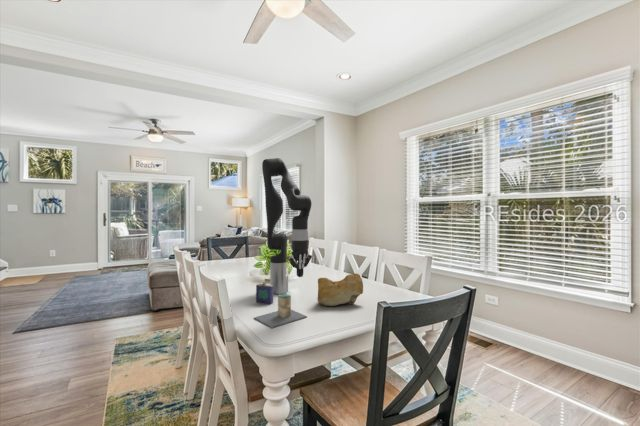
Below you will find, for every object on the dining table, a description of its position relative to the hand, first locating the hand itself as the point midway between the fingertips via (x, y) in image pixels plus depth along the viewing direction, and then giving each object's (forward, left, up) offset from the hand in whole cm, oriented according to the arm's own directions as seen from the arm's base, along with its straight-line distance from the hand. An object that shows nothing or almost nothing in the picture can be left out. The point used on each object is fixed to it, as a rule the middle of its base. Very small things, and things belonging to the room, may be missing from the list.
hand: (299, 276), depth 141 cm
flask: (+5, -23, -17) cm, 29 cm away
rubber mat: (+11, 0, -16) cm, 20 cm away
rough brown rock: (-24, +1, -17) cm, 29 cm away
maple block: (+9, 0, -16) cm, 18 cm away
